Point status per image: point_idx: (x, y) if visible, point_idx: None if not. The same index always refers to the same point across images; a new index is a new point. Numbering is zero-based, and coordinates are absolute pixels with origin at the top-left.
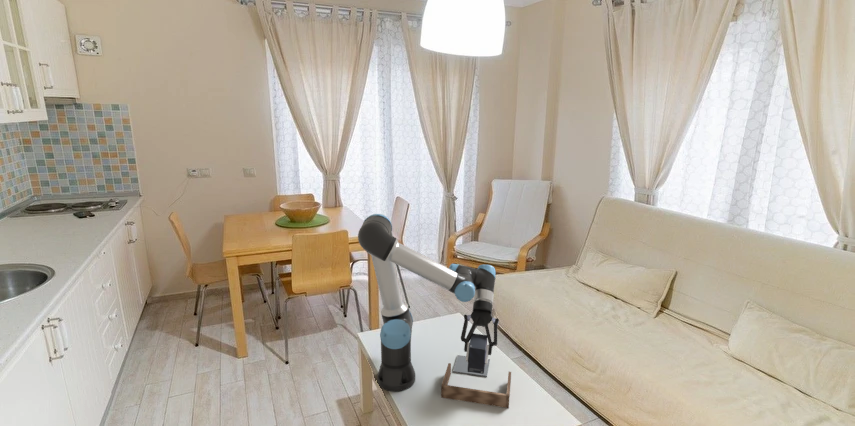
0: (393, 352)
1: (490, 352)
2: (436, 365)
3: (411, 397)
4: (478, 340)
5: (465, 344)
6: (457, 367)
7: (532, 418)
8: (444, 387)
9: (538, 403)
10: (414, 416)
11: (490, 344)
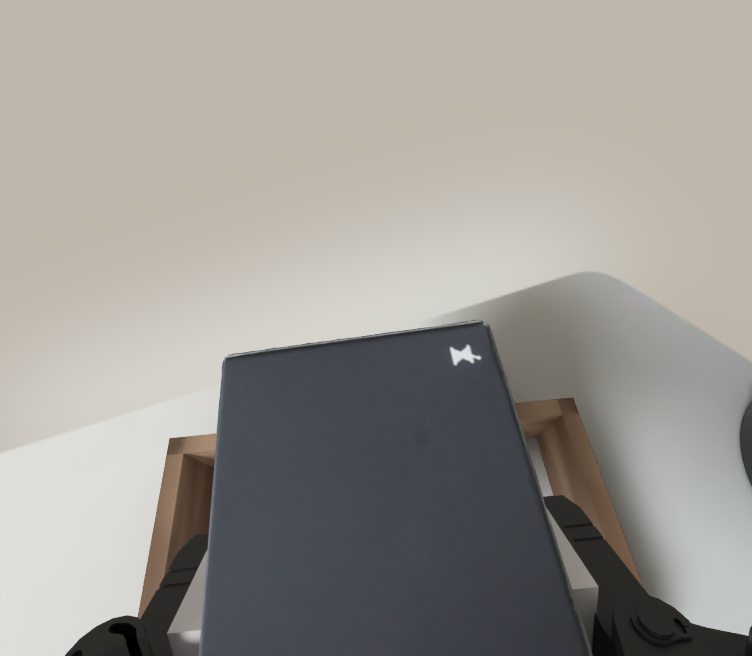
0: None
1: (187, 555)
2: None
3: (672, 375)
4: (383, 636)
5: (615, 570)
6: None
7: (99, 422)
8: (550, 402)
9: (30, 554)
10: (580, 281)
11: (117, 621)
